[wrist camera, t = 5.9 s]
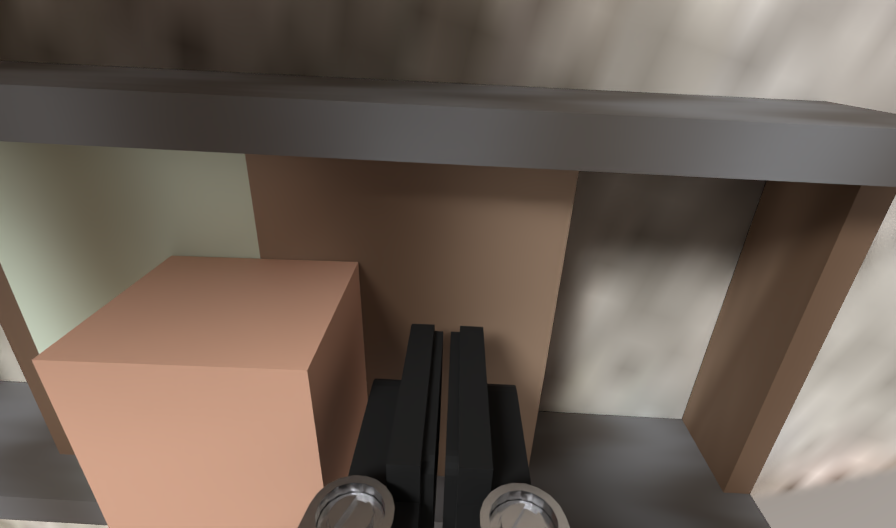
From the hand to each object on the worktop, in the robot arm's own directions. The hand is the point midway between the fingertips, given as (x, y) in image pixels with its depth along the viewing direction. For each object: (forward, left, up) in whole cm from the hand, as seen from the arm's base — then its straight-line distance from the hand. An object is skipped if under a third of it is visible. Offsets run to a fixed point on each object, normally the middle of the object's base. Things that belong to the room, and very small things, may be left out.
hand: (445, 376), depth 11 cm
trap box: (+5, 0, -4) cm, 6 cm away
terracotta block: (+4, 0, -1) cm, 5 cm away
